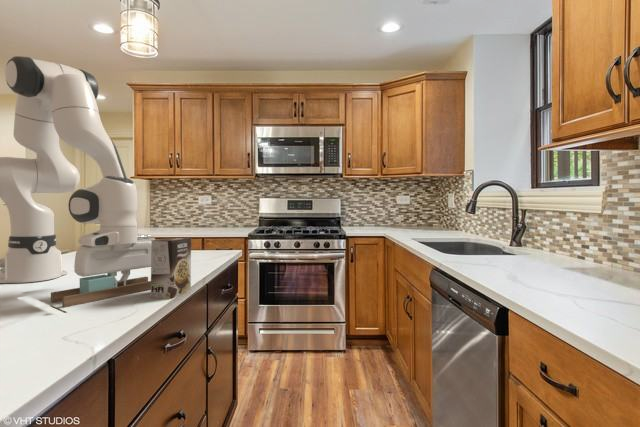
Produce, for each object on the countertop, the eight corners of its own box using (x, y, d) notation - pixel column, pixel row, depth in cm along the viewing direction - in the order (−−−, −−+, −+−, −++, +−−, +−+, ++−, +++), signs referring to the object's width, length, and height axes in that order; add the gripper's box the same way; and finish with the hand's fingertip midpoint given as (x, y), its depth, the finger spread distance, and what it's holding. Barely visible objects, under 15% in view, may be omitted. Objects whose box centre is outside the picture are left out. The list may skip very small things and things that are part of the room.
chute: (50, 306, 86) (50, 292, 86) (145, 287, 106) (145, 276, 106) (64, 312, 81) (64, 297, 81) (161, 292, 101) (161, 280, 101)
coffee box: (171, 303, 90) (172, 240, 90) (149, 301, 91) (150, 239, 91) (191, 294, 99) (192, 237, 98) (171, 293, 100) (171, 236, 100)
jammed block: (79, 297, 90) (79, 278, 89) (104, 293, 95) (104, 274, 94) (88, 301, 87) (88, 280, 87) (114, 296, 92) (114, 276, 92)
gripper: (149, 233, 105) (148, 279, 106) (71, 238, 88) (71, 293, 89) (161, 234, 102) (161, 282, 102) (83, 240, 85) (83, 297, 85)
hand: (118, 287), depth 95 cm, fingers closed
